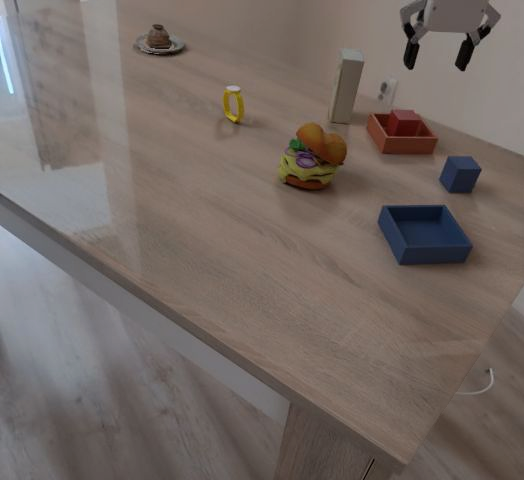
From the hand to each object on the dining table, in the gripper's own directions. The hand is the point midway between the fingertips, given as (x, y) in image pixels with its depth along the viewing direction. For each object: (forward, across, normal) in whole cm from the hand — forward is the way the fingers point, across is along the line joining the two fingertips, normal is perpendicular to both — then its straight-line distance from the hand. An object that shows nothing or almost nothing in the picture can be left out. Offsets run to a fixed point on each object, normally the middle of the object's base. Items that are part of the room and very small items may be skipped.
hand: (433, 67), depth 84 cm
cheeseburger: (+14, +23, +12) cm, 30 cm away
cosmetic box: (+14, +11, -13) cm, 22 cm away
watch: (+14, +34, -10) cm, 39 cm away
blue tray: (+14, +9, +30) cm, 35 cm away
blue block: (+15, -4, +14) cm, 21 cm away
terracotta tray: (+14, +1, -3) cm, 15 cm away
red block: (+14, +1, -3) cm, 14 cm away
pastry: (+14, +49, -49) cm, 71 cm away
